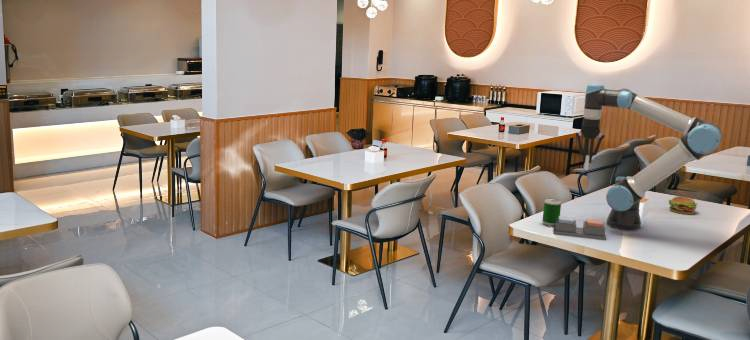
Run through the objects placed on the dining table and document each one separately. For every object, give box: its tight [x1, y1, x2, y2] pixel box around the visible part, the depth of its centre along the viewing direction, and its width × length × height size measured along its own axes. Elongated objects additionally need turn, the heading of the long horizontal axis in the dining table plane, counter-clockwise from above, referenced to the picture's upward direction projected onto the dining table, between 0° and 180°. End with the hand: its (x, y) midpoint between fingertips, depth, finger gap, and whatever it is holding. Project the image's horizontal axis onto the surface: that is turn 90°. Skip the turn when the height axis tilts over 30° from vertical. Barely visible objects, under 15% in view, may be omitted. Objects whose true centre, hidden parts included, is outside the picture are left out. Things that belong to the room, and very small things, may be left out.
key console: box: [552, 218, 607, 241], centre depth 295 cm, size 22×11×5 cm, turn 75°
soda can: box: [541, 197, 562, 227], centre depth 307 cm, size 8×8×12 cm
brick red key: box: [585, 218, 603, 227], centre depth 293 cm, size 6×6×3 cm
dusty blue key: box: [558, 215, 575, 224], centre depth 296 cm, size 6×6×3 cm
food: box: [668, 195, 698, 215], centre depth 346 cm, size 14×14×8 cm
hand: (586, 169), depth 305 cm, fingers closed
